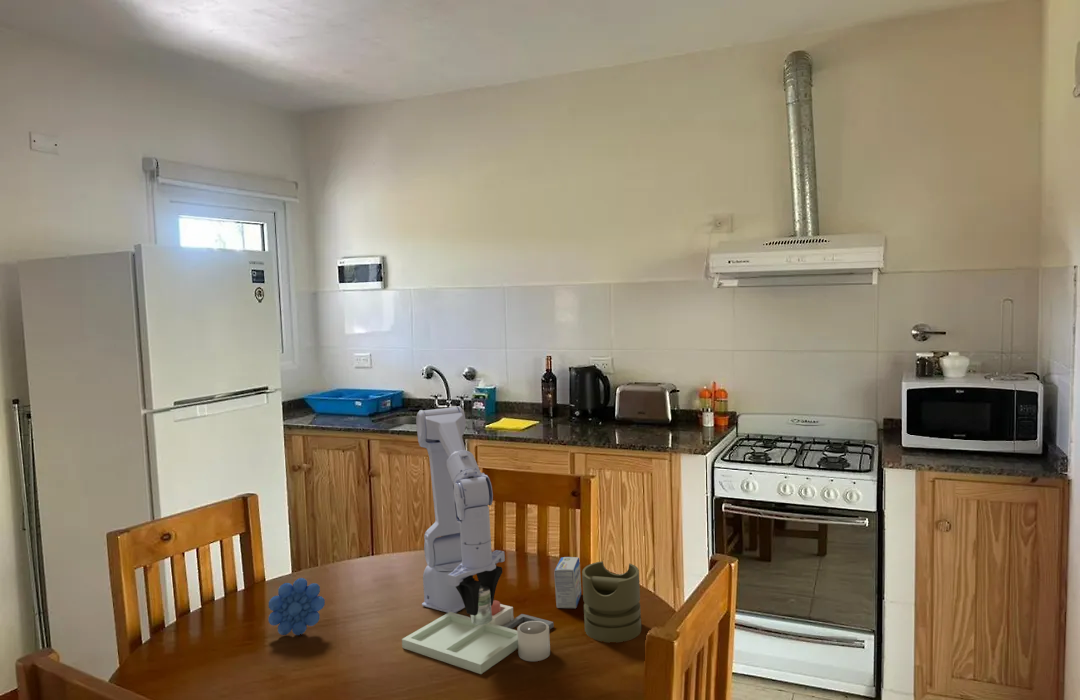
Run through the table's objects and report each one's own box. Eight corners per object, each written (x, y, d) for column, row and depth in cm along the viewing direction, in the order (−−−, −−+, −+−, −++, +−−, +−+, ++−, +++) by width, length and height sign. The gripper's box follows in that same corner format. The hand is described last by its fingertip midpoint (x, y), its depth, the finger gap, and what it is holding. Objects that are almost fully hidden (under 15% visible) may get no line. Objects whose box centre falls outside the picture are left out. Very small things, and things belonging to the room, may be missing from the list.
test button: (480, 623, 152) (479, 605, 152) (491, 617, 155) (490, 598, 155) (493, 627, 150) (492, 608, 150) (504, 620, 153) (503, 602, 152)
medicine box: (576, 609, 157) (574, 570, 157) (555, 608, 158) (554, 569, 158) (581, 594, 165) (579, 556, 164) (562, 593, 166) (560, 556, 165)
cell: (466, 622, 140) (464, 590, 139) (479, 613, 143) (477, 582, 143) (483, 626, 138) (481, 593, 137) (496, 617, 141) (494, 585, 141)
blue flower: (331, 623, 156) (327, 568, 156) (324, 638, 150) (320, 581, 149) (275, 627, 156) (271, 572, 155) (266, 642, 149) (261, 585, 148)
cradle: (498, 633, 148) (498, 629, 148) (522, 618, 154) (521, 613, 154) (530, 643, 143) (530, 638, 143) (553, 626, 150) (553, 622, 149)
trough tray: (402, 647, 144) (401, 639, 144) (450, 619, 155) (449, 611, 155) (481, 674, 132) (480, 664, 132) (526, 641, 144) (526, 633, 143)
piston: (632, 584, 139) (575, 579, 143) (634, 645, 140) (577, 639, 144) (644, 563, 150) (590, 558, 154) (646, 619, 151) (593, 614, 155)
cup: (512, 656, 138) (510, 630, 138) (530, 643, 143) (529, 617, 143) (538, 664, 135) (536, 637, 134) (556, 650, 140) (555, 624, 139)
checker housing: (471, 626, 152) (470, 612, 151) (489, 614, 157) (489, 601, 157) (495, 633, 148) (494, 618, 148) (513, 621, 153) (512, 607, 153)
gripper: (466, 555, 131) (471, 629, 132) (515, 531, 143) (519, 599, 144) (437, 549, 135) (442, 620, 136) (487, 526, 147) (491, 592, 148)
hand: (479, 609), depth 140 cm, fingers closed on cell, 4 cm apart
